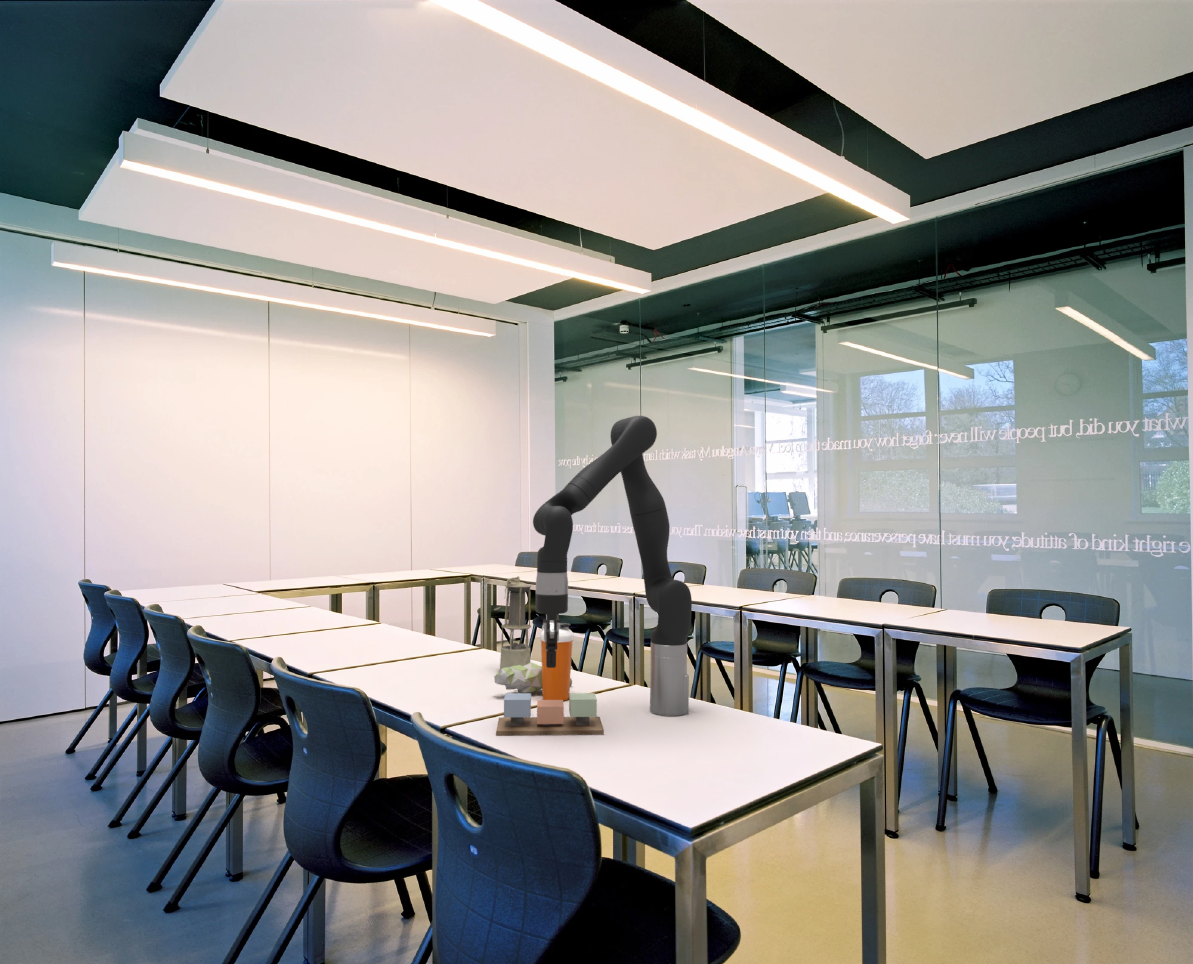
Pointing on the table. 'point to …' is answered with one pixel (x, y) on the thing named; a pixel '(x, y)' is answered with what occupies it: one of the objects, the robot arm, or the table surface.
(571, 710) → the button sage
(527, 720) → the board
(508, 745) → the table surface
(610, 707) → the table surface
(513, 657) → the lamp
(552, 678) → the shaker bottle
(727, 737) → the table surface
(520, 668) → the decorative object
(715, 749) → the table surface
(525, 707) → the button slate
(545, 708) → the button terracotta
